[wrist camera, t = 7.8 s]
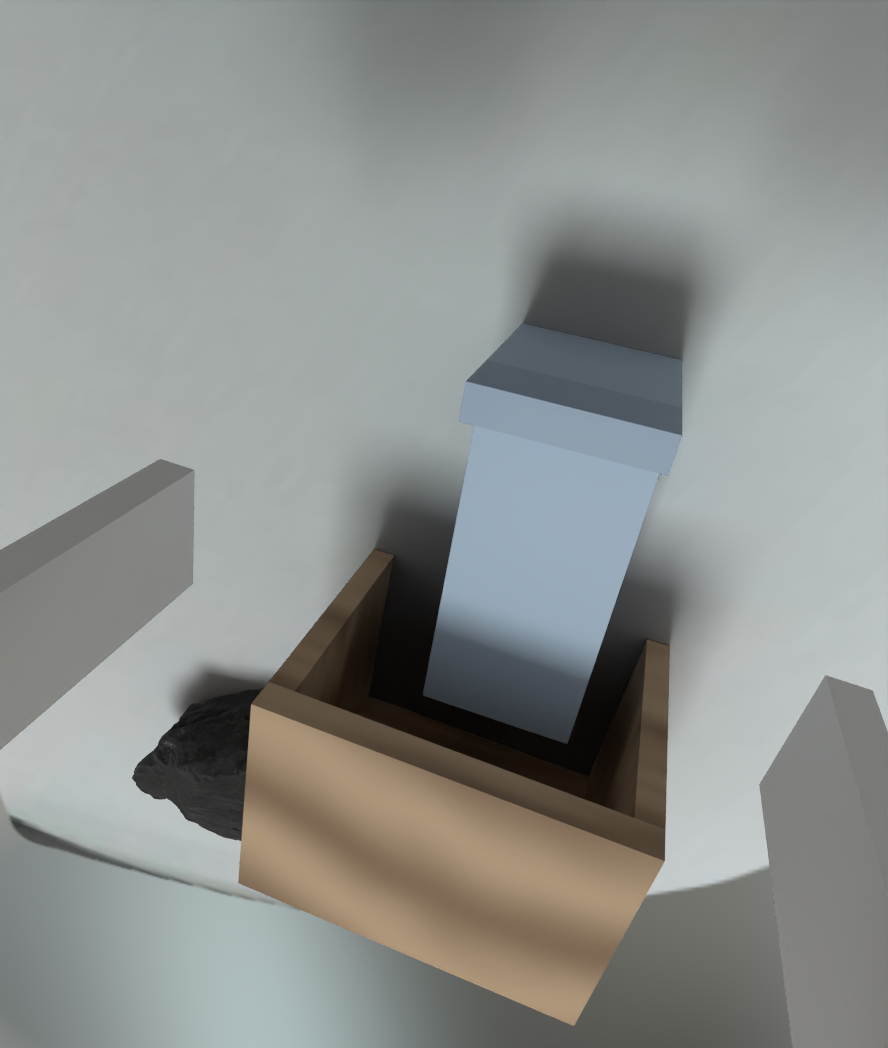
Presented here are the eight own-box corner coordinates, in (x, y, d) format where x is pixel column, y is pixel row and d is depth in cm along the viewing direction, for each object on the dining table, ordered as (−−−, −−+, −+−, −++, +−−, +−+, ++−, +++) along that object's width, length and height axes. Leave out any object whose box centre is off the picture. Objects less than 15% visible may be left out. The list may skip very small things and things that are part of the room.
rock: (236, 624, 38) (168, 694, 33) (372, 719, 38) (325, 802, 33) (181, 725, 44) (116, 798, 39) (302, 808, 44) (252, 891, 39)
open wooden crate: (374, 548, 33) (251, 704, 24) (669, 646, 31) (664, 861, 22) (348, 703, 38) (238, 882, 29) (602, 796, 36) (573, 1026, 27)
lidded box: (523, 322, 27) (465, 381, 20) (682, 358, 26) (682, 435, 19) (461, 614, 34) (401, 738, 27) (585, 653, 33) (557, 792, 26)
